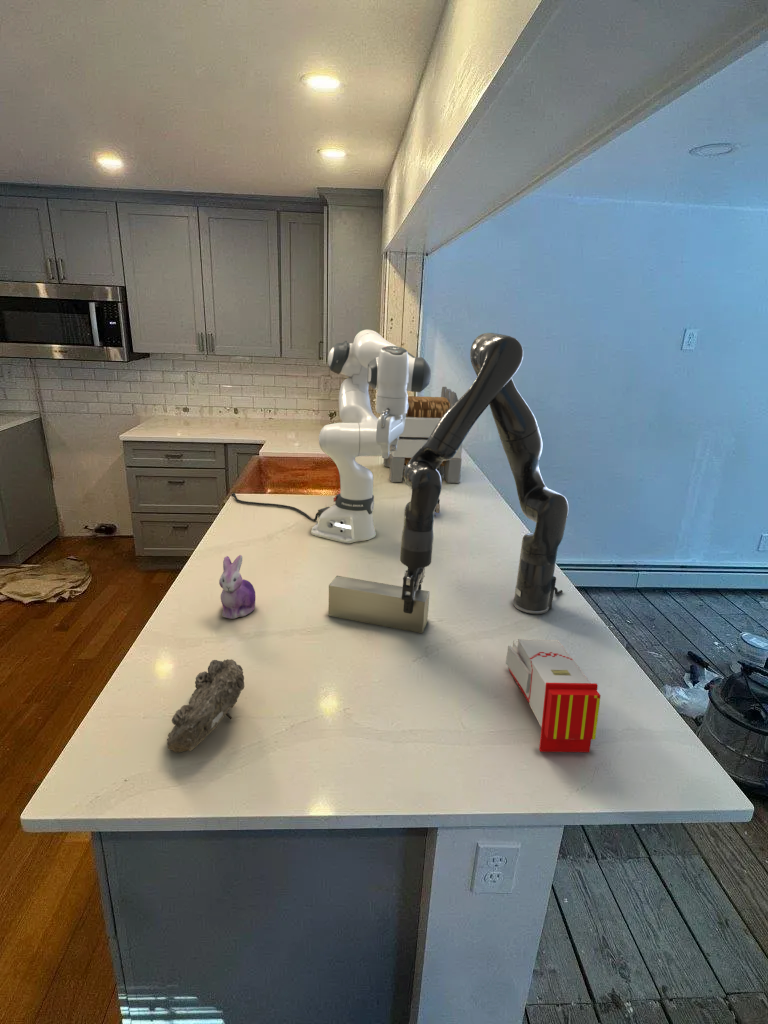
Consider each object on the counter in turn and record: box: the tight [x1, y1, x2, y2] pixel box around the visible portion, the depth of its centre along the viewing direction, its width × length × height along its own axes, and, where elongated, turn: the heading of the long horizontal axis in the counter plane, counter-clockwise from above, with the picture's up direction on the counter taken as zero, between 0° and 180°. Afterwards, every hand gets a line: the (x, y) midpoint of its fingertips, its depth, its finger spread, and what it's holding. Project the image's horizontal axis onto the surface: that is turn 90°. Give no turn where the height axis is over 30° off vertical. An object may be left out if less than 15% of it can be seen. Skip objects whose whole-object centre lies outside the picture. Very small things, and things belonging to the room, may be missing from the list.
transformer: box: [383, 386, 464, 484], centre depth 268 cm, size 34×33×41 cm
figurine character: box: [434, 499, 441, 518], centre depth 221 cm, size 7×8×15 cm
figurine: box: [218, 554, 256, 619], centre depth 143 cm, size 9×10×15 cm
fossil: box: [166, 658, 245, 754], centre depth 106 cm, size 22×10×15 cm
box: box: [328, 575, 431, 634], centre depth 143 cm, size 25×6×9 cm, turn 74°
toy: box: [505, 638, 602, 753], centre depth 114 cm, size 12×13×30 cm
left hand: (389, 454), depth 165 cm, fingers open, 8 cm apart
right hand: (412, 604), depth 140 cm, fingers open, 8 cm apart
